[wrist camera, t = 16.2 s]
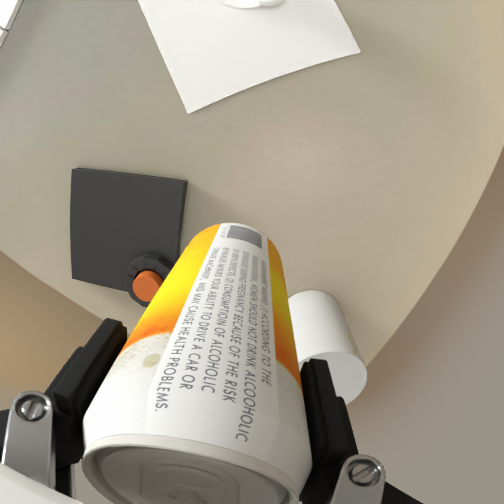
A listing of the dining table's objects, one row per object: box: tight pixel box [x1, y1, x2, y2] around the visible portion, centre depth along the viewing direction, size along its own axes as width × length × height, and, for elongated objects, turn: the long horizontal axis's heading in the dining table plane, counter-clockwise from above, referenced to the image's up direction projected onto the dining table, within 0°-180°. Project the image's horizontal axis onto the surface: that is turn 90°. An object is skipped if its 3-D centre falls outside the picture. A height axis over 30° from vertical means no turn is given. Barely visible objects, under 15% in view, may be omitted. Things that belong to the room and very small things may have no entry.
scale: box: [70, 168, 187, 307], centre depth 34 cm, size 15×14×3 cm
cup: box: [288, 290, 367, 405], centre depth 33 cm, size 8×8×12 cm
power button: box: [133, 270, 163, 302], centre depth 34 cm, size 3×3×2 cm
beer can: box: [82, 223, 312, 504], centre depth 13 cm, size 6×6×15 cm
